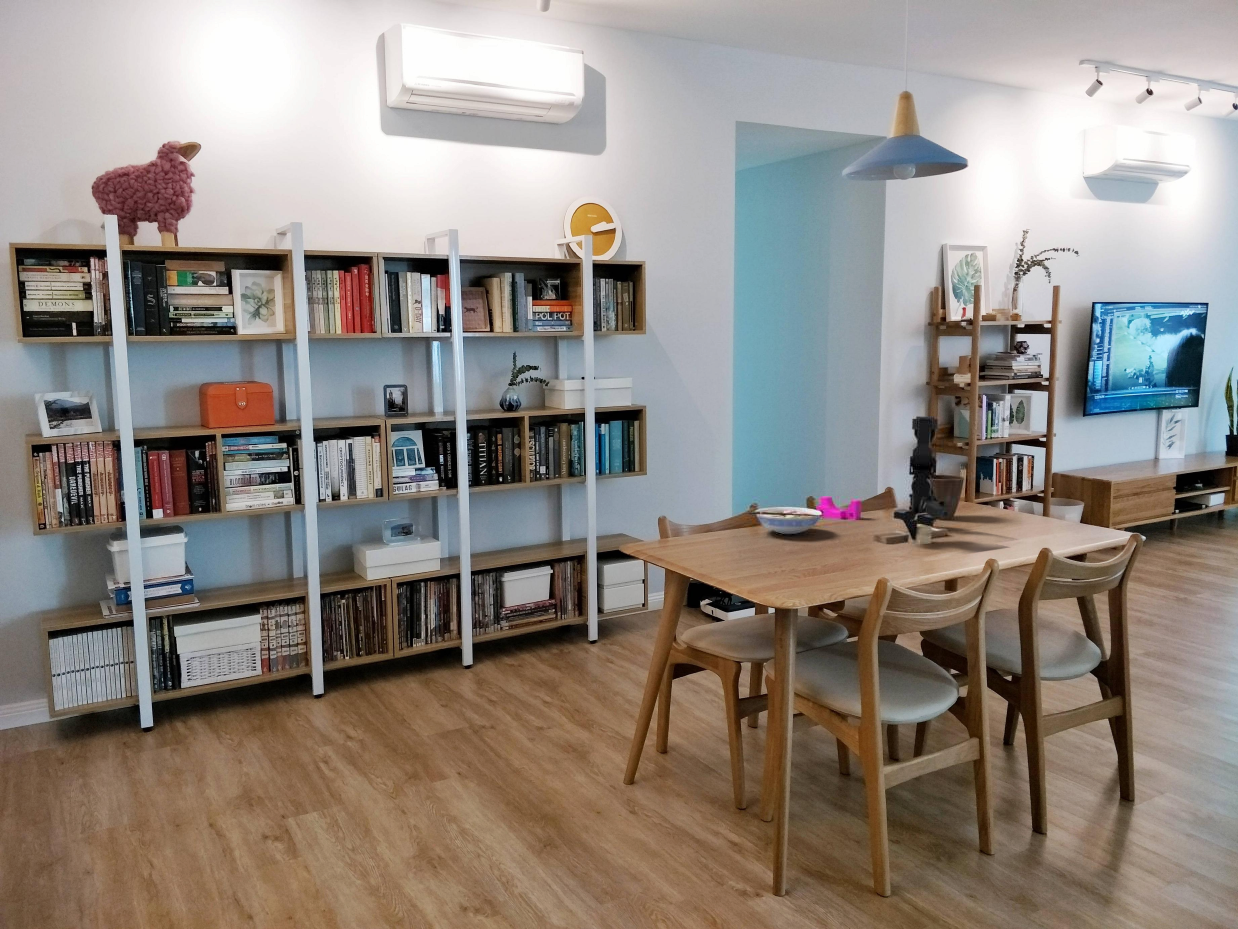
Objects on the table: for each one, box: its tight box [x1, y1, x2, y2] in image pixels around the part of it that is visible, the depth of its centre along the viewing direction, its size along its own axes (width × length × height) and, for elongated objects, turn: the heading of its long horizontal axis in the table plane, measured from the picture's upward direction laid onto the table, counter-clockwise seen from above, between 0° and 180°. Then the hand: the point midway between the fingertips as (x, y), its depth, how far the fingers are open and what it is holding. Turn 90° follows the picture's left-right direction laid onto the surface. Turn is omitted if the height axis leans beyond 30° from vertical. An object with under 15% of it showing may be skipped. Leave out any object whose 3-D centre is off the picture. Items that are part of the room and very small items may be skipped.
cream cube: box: [905, 524, 932, 546], centre depth 317 cm, size 6×5×6 cm
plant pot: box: [930, 474, 965, 521], centre depth 357 cm, size 15×15×16 cm
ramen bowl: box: [748, 506, 824, 535], centre depth 334 cm, size 25×23×8 cm
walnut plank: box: [872, 526, 949, 545], centre depth 324 cm, size 6×28×2 cm, turn 119°
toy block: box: [816, 496, 862, 521], centre depth 362 cm, size 15×6×8 cm, turn 46°
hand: (919, 539), depth 316 cm, fingers closed on cream cube, 5 cm apart
